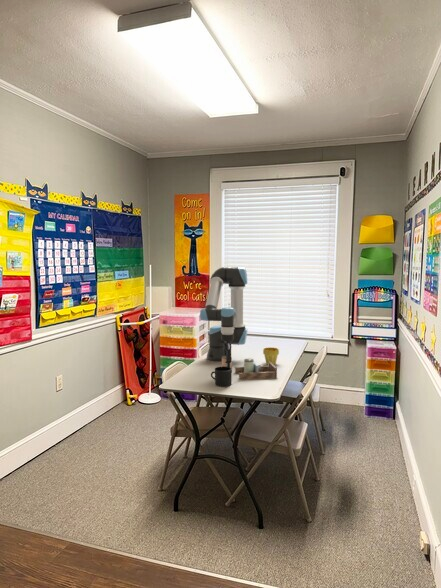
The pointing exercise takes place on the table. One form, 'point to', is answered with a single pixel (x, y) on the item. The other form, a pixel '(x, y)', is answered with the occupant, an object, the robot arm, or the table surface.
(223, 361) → the clay jar
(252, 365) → the sage jar
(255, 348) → the table surface
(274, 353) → the plant pot
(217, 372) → the mug
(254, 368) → the pusher
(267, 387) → the table surface
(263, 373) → the lane
